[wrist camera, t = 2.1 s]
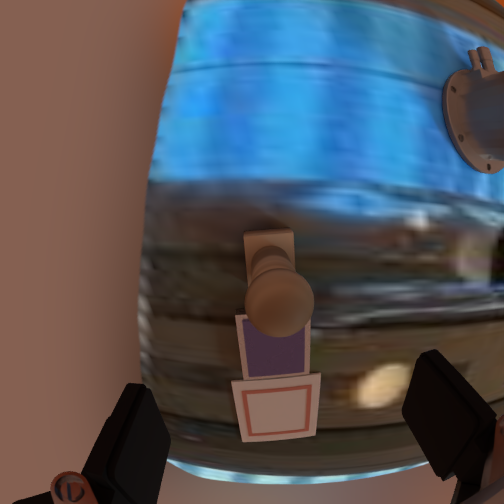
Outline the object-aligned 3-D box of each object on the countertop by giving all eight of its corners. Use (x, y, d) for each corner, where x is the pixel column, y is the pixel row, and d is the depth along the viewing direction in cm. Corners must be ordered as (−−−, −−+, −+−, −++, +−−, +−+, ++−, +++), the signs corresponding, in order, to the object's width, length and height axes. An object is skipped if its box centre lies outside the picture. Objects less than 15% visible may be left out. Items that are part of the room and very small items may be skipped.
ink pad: (235, 309, 27) (235, 316, 25) (308, 303, 27) (311, 309, 25) (243, 373, 29) (243, 381, 27) (307, 367, 29) (309, 375, 27)
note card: (231, 380, 29) (231, 382, 29) (320, 372, 29) (321, 374, 29) (242, 440, 32) (242, 442, 32) (315, 433, 32) (315, 435, 32)
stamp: (244, 231, 25) (239, 277, 14) (289, 227, 25) (321, 269, 13) (249, 284, 26) (248, 360, 15) (291, 280, 26) (319, 353, 15)
